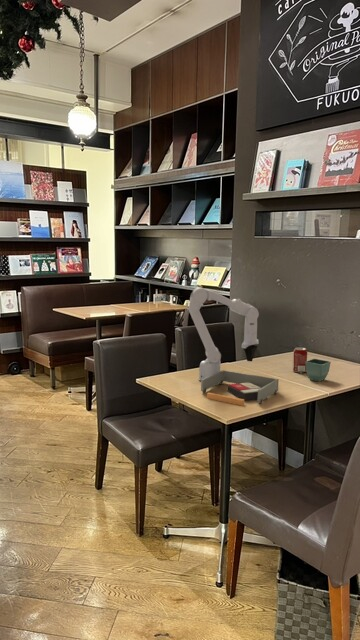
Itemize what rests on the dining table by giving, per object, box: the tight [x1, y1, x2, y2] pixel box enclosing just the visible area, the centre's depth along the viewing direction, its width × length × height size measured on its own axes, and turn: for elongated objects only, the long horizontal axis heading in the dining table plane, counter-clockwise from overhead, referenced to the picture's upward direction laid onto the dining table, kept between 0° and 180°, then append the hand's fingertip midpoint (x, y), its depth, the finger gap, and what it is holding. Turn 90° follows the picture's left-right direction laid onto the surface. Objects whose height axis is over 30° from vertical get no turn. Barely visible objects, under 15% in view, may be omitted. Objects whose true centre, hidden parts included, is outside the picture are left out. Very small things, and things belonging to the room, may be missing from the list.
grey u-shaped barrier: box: [200, 369, 279, 405], centre depth 196 cm, size 27×20×6 cm
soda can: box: [292, 346, 308, 374], centre depth 233 cm, size 7×7×12 cm
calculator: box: [227, 383, 268, 402], centre depth 194 cm, size 11×4×15 cm
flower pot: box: [305, 358, 331, 382], centre depth 218 cm, size 9×9×9 cm
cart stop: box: [206, 392, 245, 406], centre depth 186 cm, size 16×2×2 cm, turn 57°
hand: (249, 360), depth 215 cm, fingers closed
